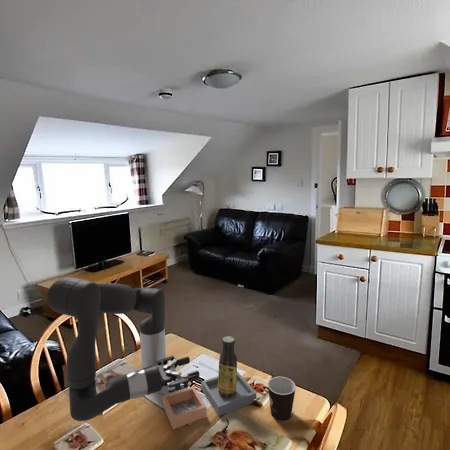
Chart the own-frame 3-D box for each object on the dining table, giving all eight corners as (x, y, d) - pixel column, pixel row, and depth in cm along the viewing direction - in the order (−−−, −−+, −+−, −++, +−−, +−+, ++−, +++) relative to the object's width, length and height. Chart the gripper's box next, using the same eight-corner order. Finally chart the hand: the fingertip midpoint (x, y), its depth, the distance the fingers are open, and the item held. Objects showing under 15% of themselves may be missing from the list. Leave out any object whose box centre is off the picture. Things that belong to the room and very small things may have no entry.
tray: (201, 389, 114) (201, 381, 114) (236, 378, 120) (236, 370, 120) (218, 416, 102) (218, 407, 101) (256, 401, 108) (256, 393, 108)
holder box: (162, 406, 107) (162, 396, 106) (193, 395, 111) (193, 386, 111) (172, 429, 97) (172, 419, 96) (206, 416, 102) (206, 406, 101)
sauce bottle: (215, 395, 109) (214, 341, 106) (222, 384, 115) (221, 332, 112) (233, 400, 107) (233, 345, 104) (239, 389, 113) (239, 336, 109)
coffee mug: (295, 425, 98) (295, 396, 96) (266, 421, 99) (266, 392, 98) (294, 399, 109) (295, 372, 107) (268, 396, 111) (269, 369, 109)
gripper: (148, 384, 90) (202, 367, 97) (137, 358, 102) (185, 345, 109) (149, 408, 91) (202, 390, 98) (138, 379, 104) (186, 365, 111)
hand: (193, 366), depth 104 cm, fingers open, 8 cm apart
